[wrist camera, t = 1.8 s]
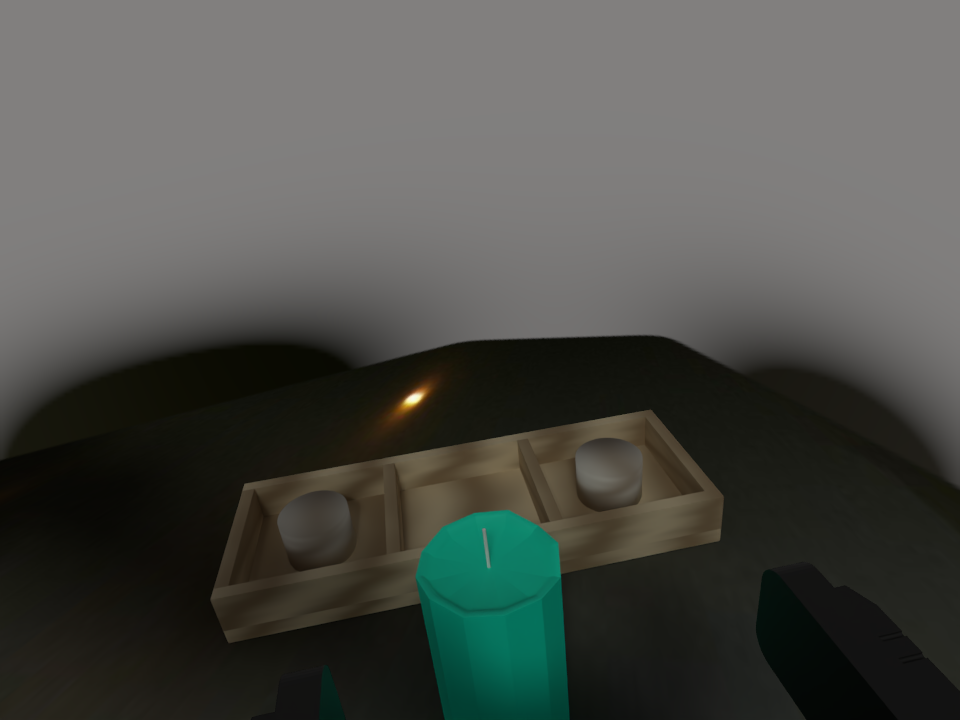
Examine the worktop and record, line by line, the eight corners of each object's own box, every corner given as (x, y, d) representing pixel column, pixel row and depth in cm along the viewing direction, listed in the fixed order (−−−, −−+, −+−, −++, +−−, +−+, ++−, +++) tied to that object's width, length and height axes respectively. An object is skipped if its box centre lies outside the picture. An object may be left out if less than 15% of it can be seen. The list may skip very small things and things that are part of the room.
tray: (228, 643, 35) (207, 593, 33) (257, 522, 45) (242, 478, 43) (719, 540, 38) (724, 490, 37) (650, 447, 48) (651, 403, 46)
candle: (507, 818, 26) (477, 617, 20) (422, 720, 30) (379, 533, 25) (597, 719, 29) (592, 525, 24) (510, 644, 33) (488, 464, 28)
